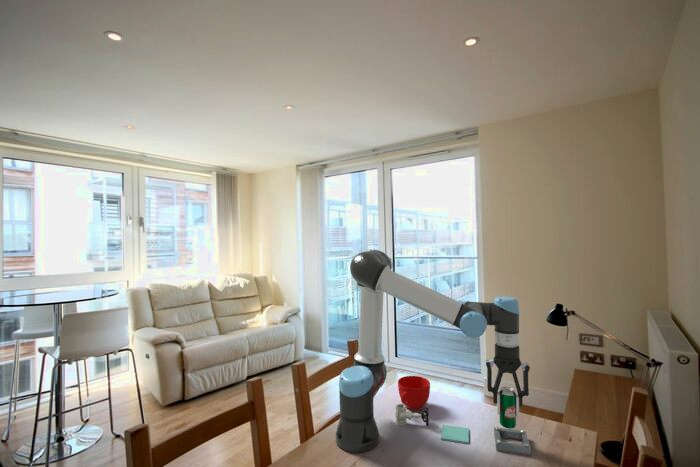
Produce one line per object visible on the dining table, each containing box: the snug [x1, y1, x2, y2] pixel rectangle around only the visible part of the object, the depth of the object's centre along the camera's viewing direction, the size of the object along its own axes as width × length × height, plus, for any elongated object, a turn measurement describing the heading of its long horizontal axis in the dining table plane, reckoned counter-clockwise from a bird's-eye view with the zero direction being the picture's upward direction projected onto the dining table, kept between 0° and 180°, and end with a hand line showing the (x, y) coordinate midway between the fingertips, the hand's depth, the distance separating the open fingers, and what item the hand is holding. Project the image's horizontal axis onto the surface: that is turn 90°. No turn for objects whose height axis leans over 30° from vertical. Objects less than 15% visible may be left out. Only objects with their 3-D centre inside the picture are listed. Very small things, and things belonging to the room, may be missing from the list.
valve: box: [395, 403, 430, 427], centre depth 133 cm, size 7×7×12 cm
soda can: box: [498, 386, 517, 430], centre depth 119 cm, size 5×5×12 cm
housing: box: [493, 426, 532, 457], centre depth 119 cm, size 10×10×3 cm
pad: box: [440, 424, 470, 445], centre depth 125 cm, size 9×9×1 cm
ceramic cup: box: [397, 375, 431, 411], centre depth 145 cm, size 13×17×10 cm
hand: (507, 413), depth 119 cm, fingers closed on soda can, 5 cm apart
